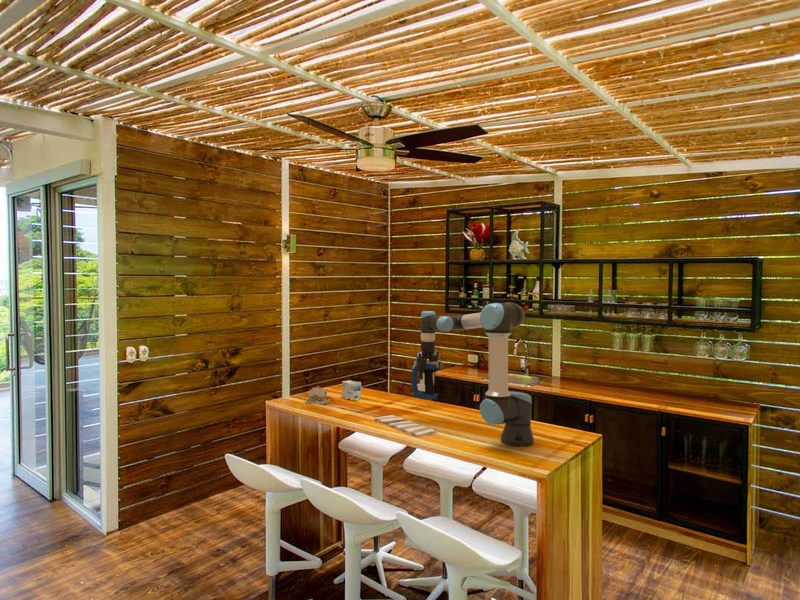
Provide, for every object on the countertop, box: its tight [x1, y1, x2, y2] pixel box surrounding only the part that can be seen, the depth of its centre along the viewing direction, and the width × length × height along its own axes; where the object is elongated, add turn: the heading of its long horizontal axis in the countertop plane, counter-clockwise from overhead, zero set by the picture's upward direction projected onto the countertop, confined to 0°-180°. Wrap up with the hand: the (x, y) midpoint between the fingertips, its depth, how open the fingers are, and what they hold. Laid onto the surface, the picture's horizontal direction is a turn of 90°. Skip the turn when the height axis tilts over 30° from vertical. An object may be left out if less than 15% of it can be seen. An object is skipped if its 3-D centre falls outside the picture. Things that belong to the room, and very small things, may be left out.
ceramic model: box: [306, 385, 331, 406], centre depth 318 cm, size 14×11×10 cm
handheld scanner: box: [410, 360, 443, 400], centre depth 281 cm, size 5×16×20 cm, turn 74°
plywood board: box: [373, 414, 437, 438], centre depth 271 cm, size 36×12×1 cm, turn 37°
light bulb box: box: [341, 380, 362, 401], centre depth 331 cm, size 11×7×11 cm, turn 49°
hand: (427, 384), depth 280 cm, fingers closed on handheld scanner, 6 cm apart
